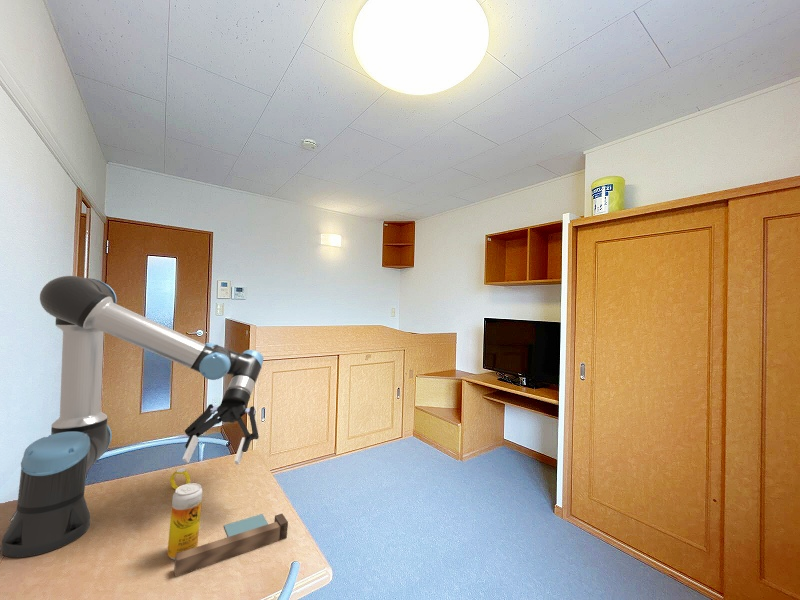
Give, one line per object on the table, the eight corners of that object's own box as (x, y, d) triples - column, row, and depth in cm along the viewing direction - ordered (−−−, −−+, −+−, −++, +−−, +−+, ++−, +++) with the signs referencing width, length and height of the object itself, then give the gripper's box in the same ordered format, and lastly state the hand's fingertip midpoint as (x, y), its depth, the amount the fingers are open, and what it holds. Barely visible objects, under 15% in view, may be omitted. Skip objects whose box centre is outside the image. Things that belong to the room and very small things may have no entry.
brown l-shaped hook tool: (175, 577, 73) (176, 558, 73) (173, 564, 77) (175, 546, 77) (286, 537, 88) (288, 522, 88) (281, 528, 92) (282, 513, 92)
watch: (190, 488, 109) (193, 469, 109) (183, 492, 106) (187, 473, 106) (173, 484, 110) (176, 466, 110) (166, 488, 107) (170, 470, 107)
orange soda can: (179, 565, 77) (185, 497, 77) (160, 556, 79) (167, 491, 79) (202, 548, 82) (208, 485, 83) (185, 540, 84) (191, 480, 85)
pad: (231, 545, 84) (231, 544, 84) (223, 526, 91) (224, 525, 91) (271, 532, 90) (272, 530, 90) (262, 514, 97) (262, 513, 97)
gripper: (279, 401, 111) (260, 468, 95) (201, 397, 109) (168, 465, 94) (276, 389, 106) (255, 457, 90) (194, 384, 104) (158, 454, 89)
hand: (211, 462), depth 92 cm, fingers open, 13 cm apart
